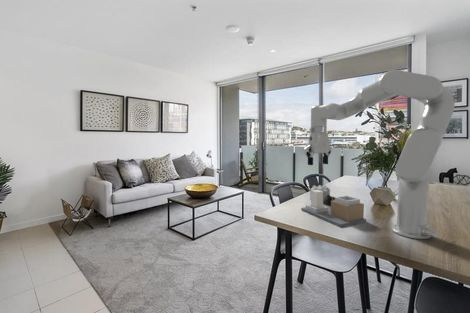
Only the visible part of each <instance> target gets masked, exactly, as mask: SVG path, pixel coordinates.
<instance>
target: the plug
mask: <svg viewBox="0 0 470 313" xmlns="http://www.w3.org/2000/svg"><path fill="white" fill-rule="evenodd" d="M310 204H311V207H314V208H323V191H320V190H312V191H311V201H310Z"/></svg>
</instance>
